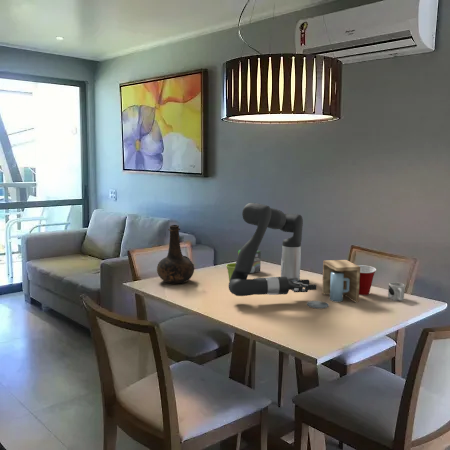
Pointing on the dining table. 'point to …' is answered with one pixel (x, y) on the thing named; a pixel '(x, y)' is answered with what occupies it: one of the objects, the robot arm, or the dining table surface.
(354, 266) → the shelf
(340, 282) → the light blue piece
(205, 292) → the dining table surface
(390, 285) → the mug
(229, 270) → the plant pot
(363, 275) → the plastic cup
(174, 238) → the glass bottle
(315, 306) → the coaster
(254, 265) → the chalk box
